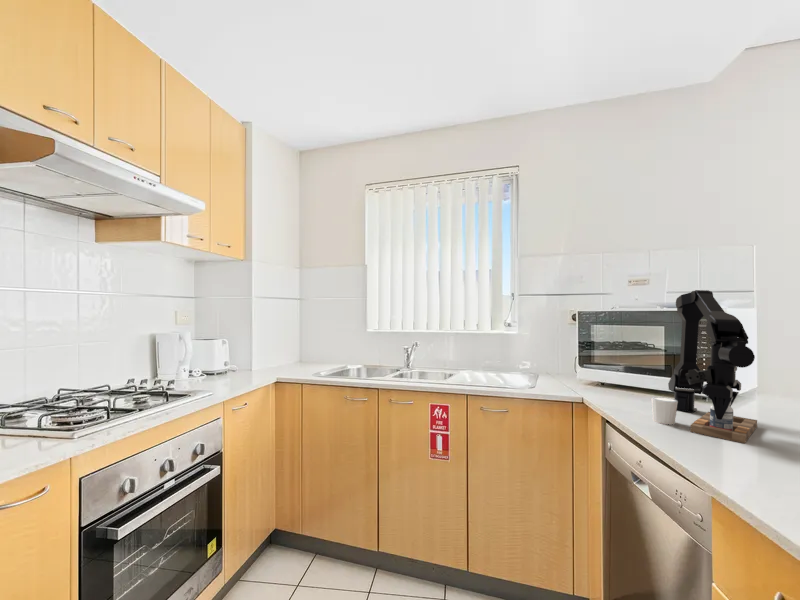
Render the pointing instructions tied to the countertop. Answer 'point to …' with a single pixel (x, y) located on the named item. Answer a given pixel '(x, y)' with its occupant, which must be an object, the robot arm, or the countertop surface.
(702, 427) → the rail
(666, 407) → the white cylinder
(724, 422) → the pill bottle
